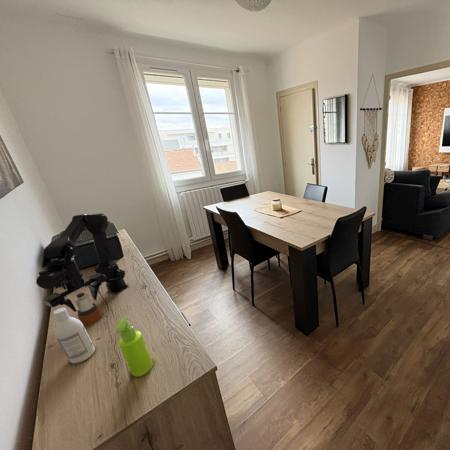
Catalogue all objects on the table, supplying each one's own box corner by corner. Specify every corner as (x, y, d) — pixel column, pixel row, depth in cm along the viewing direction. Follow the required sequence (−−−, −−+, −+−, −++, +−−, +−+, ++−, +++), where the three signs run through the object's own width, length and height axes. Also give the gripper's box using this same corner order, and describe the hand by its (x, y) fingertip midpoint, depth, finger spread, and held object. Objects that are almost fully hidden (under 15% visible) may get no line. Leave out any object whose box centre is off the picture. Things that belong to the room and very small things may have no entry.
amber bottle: (96, 312, 106) (91, 301, 104) (105, 315, 103) (100, 304, 101) (78, 322, 100) (72, 311, 98) (87, 327, 98) (81, 315, 96)
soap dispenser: (129, 382, 74) (106, 334, 67) (134, 364, 80) (113, 317, 73) (151, 374, 76) (131, 326, 69) (153, 357, 82) (135, 311, 75)
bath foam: (81, 347, 88) (57, 304, 81) (100, 346, 88) (78, 302, 81) (64, 364, 82) (37, 319, 74) (85, 363, 82) (60, 317, 74)
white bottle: (89, 303, 102) (83, 290, 100) (95, 305, 101) (89, 292, 98) (77, 310, 99) (70, 296, 96) (83, 312, 97) (76, 298, 94)
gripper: (85, 259, 104) (98, 288, 110) (27, 283, 89) (46, 316, 94) (100, 263, 100) (113, 293, 106) (42, 289, 84) (61, 323, 90)
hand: (85, 305), depth 99 cm, fingers open, 7 cm apart
